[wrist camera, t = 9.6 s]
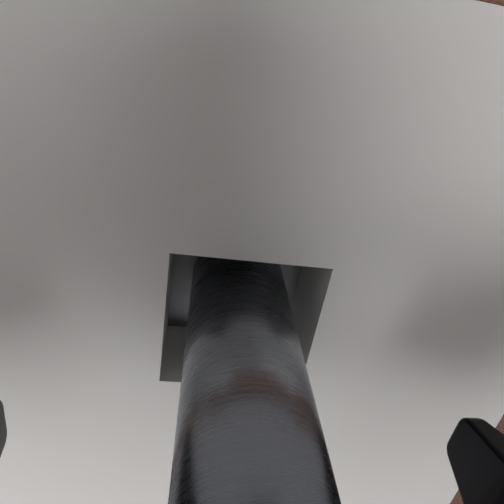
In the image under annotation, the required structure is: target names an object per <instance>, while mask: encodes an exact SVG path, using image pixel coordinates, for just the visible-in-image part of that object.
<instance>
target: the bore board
mask: <svg viewBox="0 0 504 504" xmlns="http://www.w3.org/2000/svg"><path fill="white" fill-rule="evenodd" d="M200 256H203V257H213V258H223V259H234V260H244V261H254V262H264V263H275V264H280V267H281V271H282V274H283V278H284V282H285V286H286V290H287V294H288V298H289V302H290V306H291V310H292V313H293V317H294V321H295V325H296V329H297V333H298V337H299V341H300V345H301V349H302V352H303V356H304V360H305V364H306V368H307V372H308V376H309V380H310V384H311V388H312V391H313V395H314V399H315V403H316V407H317V411H318V415H319V419H320V423H321V427H322V430H323V434H324V438H325V442H326V446H327V450H328V454H329V458H330V462H331V466H332V469H333V473H334V477H335V481H336V485H337V489H338V493H339V497H340V501H341V504H450V502H451V501H452V499H453V497H454V496H455V494H456V492H457V491H458V486H457V483H456V480H455V477H454V474H453V471H452V468H451V464H450V461H449V458H448V455H447V443H448V441H449V439H450V437H451V435H452V433H453V431H454V430H455V428H456V426H457V424H458V422H459V421H460V420H461V419H462V418H480V419H483V420H485V421H486V422H488V423H489V424H490V425H492V426H493V427H494V428H496V426H497V424H498V423H499V421H500V419H501V418H502V416H503V414H504V6H500V5H495V4H490V3H486V2H481V1H476V0H0V400H1V401H2V403H3V406H4V413H5V420H6V426H7V438H6V443H5V446H4V449H3V452H2V454H1V457H0V504H168V498H169V489H170V479H171V470H172V461H173V452H174V442H175V433H176V424H177V414H178V405H179V396H180V387H181V377H182V368H183V359H184V350H185V340H186V331H187V322H188V312H189V303H190V294H191V285H192V275H193V270H194V266H195V264H196V262H197V260H198V258H199V257H200Z"/></svg>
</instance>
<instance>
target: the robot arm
mask: <svg viewBox="0 0 504 504" xmlns="http://www.w3.org/2000/svg"><path fill="white" fill-rule="evenodd" d="M6 438H7V426H6V420H5V413H4V406H3V403H2V401H1V400H0V457H1V454H2V452H3V449H4V446H5V443H6ZM447 455H448V458H449V461H450V464H451V468H452V471H453V474H454V477H455V480H456V483H457V486H458V489H459V492H460V495H461V498H462V501H463V504H504V434H502V433H501V432H500V431H498V430H497V429H496V428H494V427H493V426H492V425H490V424H489V423H488V422H486V421H485V420H483V419H480V418H462V419H461V420H460V421H459V422H458V424H457V426H456V428H455V430H454V431H453V433H452V435H451V437H450V439H449V441H448V443H447Z"/></svg>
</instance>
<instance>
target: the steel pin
mask: <svg viewBox="0 0 504 504" xmlns="http://www.w3.org/2000/svg"><path fill="white" fill-rule="evenodd" d="M168 504H341V501H340V497H339V493H338V489H337V485H336V481H335V477H334V473H333V469H332V466H331V462H330V458H329V454H328V450H327V446H326V442H325V438H324V434H323V430H322V427H321V423H320V419H319V415H318V411H317V407H316V403H315V399H314V395H313V391H312V388H311V384H310V380H309V376H308V372H307V368H306V364H305V360H304V356H303V352H302V349H301V345H300V341H299V337H298V333H297V329H296V325H295V321H294V317H293V313H292V310H291V306H290V302H289V298H288V294H287V290H286V286H285V282H284V278H283V274H282V271H281V267H280V264H275V263H264V262H254V261H244V260H234V259H223V258H213V257H203V256H200V257H199V258H198V260H197V262H196V264H195V266H194V270H193V275H192V285H191V294H190V303H189V312H188V322H187V331H186V340H185V350H184V359H183V368H182V377H181V387H180V396H179V405H178V414H177V424H176V433H175V442H174V452H173V461H172V470H171V479H170V489H169V498H168Z"/></svg>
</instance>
